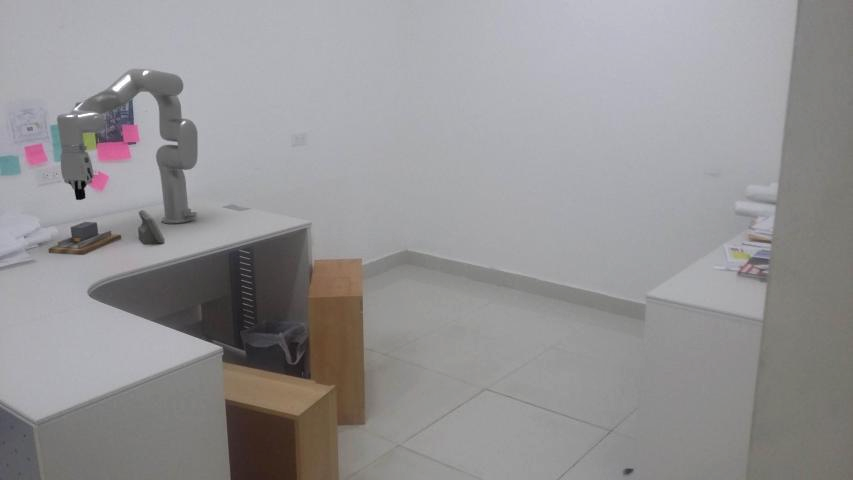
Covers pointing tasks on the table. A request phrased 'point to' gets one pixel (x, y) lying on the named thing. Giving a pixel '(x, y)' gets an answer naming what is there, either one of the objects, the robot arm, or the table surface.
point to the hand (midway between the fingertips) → (80, 199)
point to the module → (84, 231)
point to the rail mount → (84, 244)
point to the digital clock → (149, 229)
